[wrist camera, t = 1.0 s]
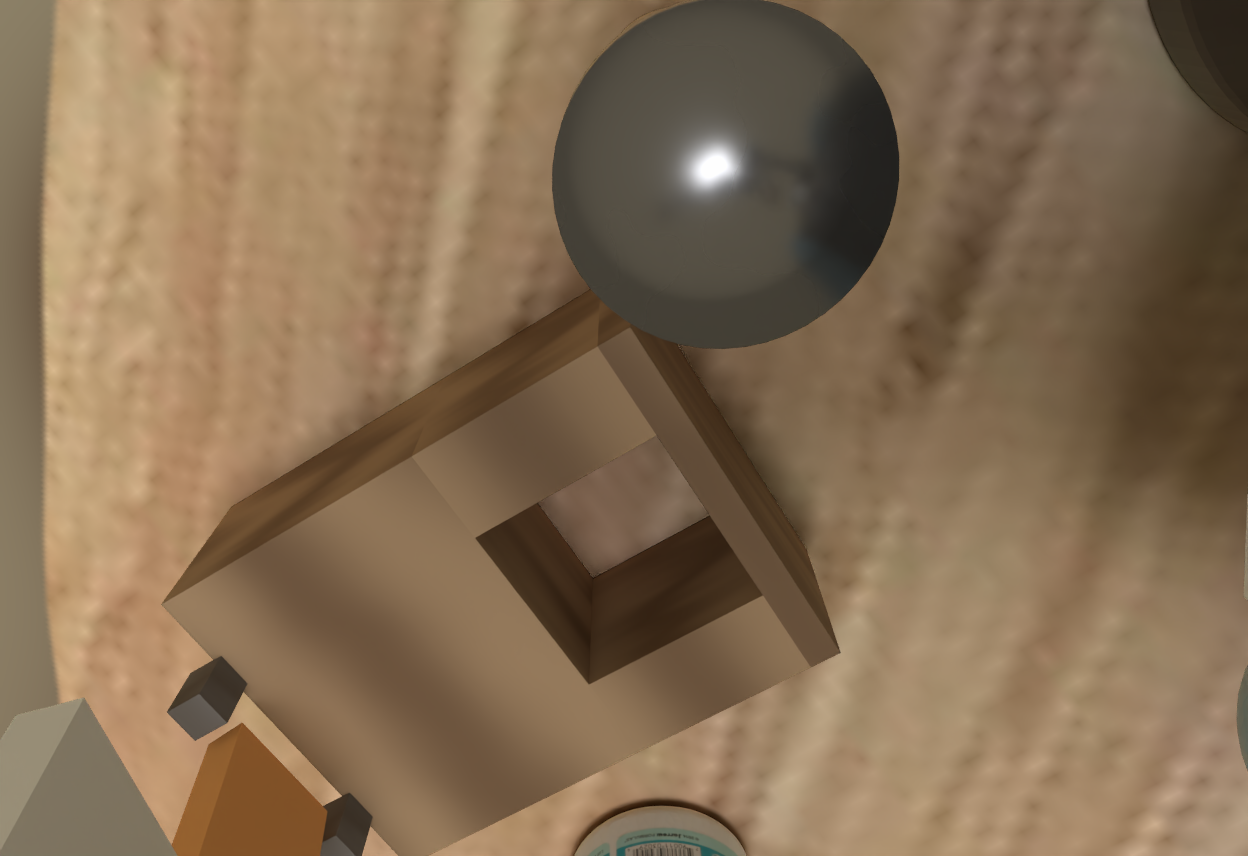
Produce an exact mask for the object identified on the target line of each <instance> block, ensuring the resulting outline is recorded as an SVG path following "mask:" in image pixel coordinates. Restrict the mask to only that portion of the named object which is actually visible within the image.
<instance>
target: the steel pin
mask: <svg viewBox="0 0 1248 856" xmlns="http://www.w3.org/2000/svg"><path fill="white" fill-rule="evenodd" d="M898 182H899V151H898V143H897V135H896V130H895V126H894V122H893V119H892V115H891V111H890V109H889V106H888V104H887V101H886V99H885V96H884V94H883V92H882V89H881V88H880V86H879V84H878V82H877V81H876V79H875V77H874V76H873V74H872V72H871V70H870V69H869V68H868V66H867V65H866V64H865V63H864V61H863V60H862V59H861V58H860V56H859V55H858V54H857V53H856V51H855V50H854V49H853V48H852V47H851V46H849V45H848V44H847V43H846V42H845V41H844V40H843V39H842V38H841V37H840V36H839V35H838V34H836V33H835V32H833V31H832V30H831V29H829V28H828V27H826V26H825V25H824V24H822V23H821V22H819V21H817V20H815V19H814V18H812V17H810V16H808V15H806V14H804V13H802V12H800V11H798V10H795V9H792V8H789V7H786V6H783V5H780V4H777V3H773V2H768V1H763V0H689V1H685V2H681V3H677V4H674V5H672V6H669V7H667V8H662V9H658V10H654V11H651V12H649V13H646V14H644V15H642V16H641V17H639V18H637V19H636V20H634V21H633V22H632V23H630V24H629V25H628V26H627V27H626V28H625V29H624V30H623V31H622V32H621V34H620V35H619V36H617V37H616V38H615V39H614V40H613V41H612V42H611V43H610V44H609V45H608V46H607V47H606V48H605V49H604V50H603V51H602V52H601V53H600V54H599V55H598V56H597V58H596V59H595V60H594V62H593V63H592V64H591V65H590V67H589V68H588V69H587V71H586V72H585V74H584V75H583V77H582V79H581V80H580V82H579V84H578V86H577V87H576V89H575V91H574V93H573V95H572V97H571V100H570V102H569V105H568V107H567V109H566V112H565V114H564V117H563V120H562V123H561V127H560V130H559V134H558V138H557V141H556V146H555V153H554V160H553V170H552V192H553V200H554V208H555V214H556V218H557V222H558V226H559V230H560V234H561V237H562V239H563V242H564V244H565V247H566V249H567V252H568V254H569V256H570V258H571V260H572V261H573V263H574V265H575V267H576V269H577V270H578V272H579V274H580V275H581V277H582V278H583V279H584V281H585V282H586V283H587V285H588V286H589V287H590V289H591V290H592V291H593V292H594V293H595V294H596V295H597V296H598V297H599V298H600V299H601V300H602V302H603V303H604V304H605V305H606V306H607V307H609V308H610V309H611V310H612V311H614V312H615V313H616V314H617V315H619V316H620V317H621V318H623V319H624V320H625V321H627V322H629V323H630V324H632V325H634V326H635V327H637V328H639V329H640V330H642V331H644V332H647V333H649V334H651V335H654V336H656V337H658V338H661V339H663V340H667V341H670V342H674V343H677V344H681V345H686V346H692V347H699V348H714V349H727V348H738V347H747V346H751V345H756V344H761V343H765V342H768V341H771V340H774V339H777V338H780V337H783V336H786V335H788V334H790V333H792V332H794V331H796V330H798V329H800V328H802V327H804V326H806V325H808V324H809V323H811V322H812V321H814V320H815V319H817V318H818V317H820V316H822V315H823V314H825V313H826V312H827V311H828V310H829V309H831V308H832V307H833V306H834V305H835V304H837V303H838V302H839V301H840V300H841V299H842V298H843V297H844V296H845V295H846V294H847V293H848V292H849V291H850V290H851V289H852V288H853V287H854V285H855V284H856V283H857V282H858V281H859V279H860V278H861V277H862V275H863V274H864V273H865V271H866V270H867V268H868V267H869V266H870V264H871V262H872V261H873V259H874V257H875V255H876V253H877V252H878V250H879V248H880V246H881V244H882V242H883V239H884V237H885V235H886V232H887V230H888V227H889V225H890V221H891V218H892V214H893V210H894V207H895V203H896V197H897V190H898Z"/></svg>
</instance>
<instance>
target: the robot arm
mask: <svg viewBox="0 0 1248 856" xmlns="http://www.w3.org/2000/svg"><path fill="white" fill-rule="evenodd" d="M1149 3H1150V7H1151V11H1152V14H1153V17H1154V20H1155V23H1156V26H1157V29H1158V31H1159V33H1160V35H1161V38H1162V40H1163V42H1164V45H1165V47H1166V49H1167V51H1168V52H1169V54H1170V56H1171V58H1172V60H1173V62H1174V63H1175V65H1176V66H1177V68H1178V69H1179V71H1180V72H1181V74H1182V75H1183V77H1184V78H1185V80H1186V81H1187V82H1188V83H1189V85H1190V86H1191V87H1192V88H1193V89H1194V91H1195V92H1196V93H1197V94H1198V95H1199V96H1200V97H1201V98H1202V99H1203V100H1204V101H1205V102H1206V103H1207V104H1208V105H1209V106H1210V107H1211V108H1212V109H1214V110H1215V111H1216V112H1217V113H1218V114H1219V115H1221V116H1222V117H1223V118H1225V119H1226V120H1228V121H1229V122H1230V123H1232V124H1233V125H1235V126H1236V127H1238V128H1240V129H1242V130H1243V131H1245V132H1247V133H1248V0H1149ZM1244 597H1245V598H1246V599H1247V600H1248V496H1247V521H1246V546H1245V571H1244ZM1237 729H1238V737H1239V743H1240V748H1241V753H1242V756H1243V759H1244V762H1245V765H1246V768H1247V771H1248V666H1247V668H1246V670H1245V672H1244V676H1243V679H1242V682H1241V686H1240V690H1239V693H1238V703H1237ZM0 856H177V854H176V852H175V850H174V849H173V847H172V845H171V844H170V842H169V840H168V839H167V837H166V835H165V834H164V832H163V830H162V828H161V827H160V825H159V823H158V822H157V820H156V818H155V817H154V815H153V813H152V812H151V810H150V808H149V807H148V805H147V803H146V801H145V800H144V798H143V796H142V795H141V793H140V791H139V790H138V788H137V786H136V785H135V783H134V781H133V779H132V778H131V776H130V774H129V773H128V771H127V769H126V768H125V766H124V764H123V763H122V761H121V759H120V757H119V756H118V754H117V752H116V751H115V749H114V747H113V746H112V744H111V742H110V741H109V739H108V737H107V736H106V734H105V732H104V730H103V729H102V727H101V725H100V724H99V722H98V720H97V719H96V717H95V715H94V714H93V712H92V710H91V708H90V707H89V705H88V703H87V702H86V700H85V698H81V699H77V700H73V701H69V702H65V703H61V704H58V705H54V706H50V707H46V708H42V709H39V710H35V711H31V712H27V713H23V714H19V715H16V716H15V717H14V719H13V721H12V722H11V724H10V725H9V727H8V729H7V730H6V732H5V733H4V735H3V737H2V738H1V740H0Z"/></svg>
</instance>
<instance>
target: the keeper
mask: <svg viewBox="0 0 1248 856" xmlns="http://www.w3.org/2000/svg"><path fill="white" fill-rule="evenodd" d="M326 817H327V810H326V809H325V808H324V807H323V806H322V805H321V804H320V803H319V802H318V801H317V800H316V799H315V798H314V797H313V796H312V795H311V794H310V793H309V792H308V790H307V789H306V788H305V787H304V786H303V785H302V784H301V783H300V782H299V781H298V780H297V779H296V778H295V777H294V776H293V775H292V774H291V773H290V772H289V771H288V770H287V769H286V768H285V767H284V765H283V764H282V763H281V762H280V761H279V760H278V759H277V758H276V757H275V756H274V755H273V754H272V753H271V752H270V751H269V750H268V749H267V748H266V747H265V746H264V745H263V744H262V743H261V742H260V740H259V739H258V738H257V737H256V736H255V735H254V734H253V733H252V732H251V731H250V730H249V729H248V728H247V727H246V726H245V725H244V724H243V723H241V724H239V725H238V726H236V727H235V728H233V729H232V730H230V731H229V732H227V733H226V734H224V735H222V736H221V737H219V738H218V739H216V740H215V741H213V742H212V743H210V744H209V745H208V748H207V751H206V753H205V756H204V759H203V762H202V764H201V767H200V770H199V772H198V775H197V778H196V781H195V783H194V786H193V789H192V791H191V794H190V797H189V800H188V802H187V805H186V808H185V811H184V813H183V816H182V819H181V821H180V824H179V827H178V830H177V832H176V835H175V838H174V840H173V843H172V847H173V849H174V850H175V852H176V854H177V856H320V852H321V846H322V841H323V835H324V829H325V823H326Z"/></svg>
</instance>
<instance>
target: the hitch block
mask: <svg viewBox="0 0 1248 856" xmlns="http://www.w3.org/2000/svg"><path fill="white" fill-rule="evenodd" d="M655 436H657V437H658V438H659V440H660V441H661V443H662V444H663V446H664V447H665V449H666V450H667V452H668V453H669V455H670V456H671V458H672V459H673V461H674V462H675V464H676V465H677V467H678V468H679V470H680V471H681V473H682V474H683V476H684V477H685V479H686V480H687V482H688V483H689V485H690V486H691V488H692V489H693V491H694V492H695V494H696V495H697V497H698V498H699V500H700V501H701V503H702V504H703V506H704V507H705V509H706V510H707V512H708V514H709V515H710V516H709V517H707V518H705V519H703V520H701V521H700V522H698V523H696V524H694V525H692V526H690V527H688V528H687V529H685V530H683V531H681V532H679V533H677V534H675V535H674V536H672V537H670V538H668V539H666V540H664V541H662V542H661V543H659V544H657V545H655V546H653V547H651V548H649V549H648V550H646V551H644V552H642V553H640V554H638V555H636V556H635V557H633V558H631V559H629V560H627V561H625V562H623V563H622V564H620V565H618V566H616V567H614V568H612V569H610V570H609V571H607V572H605V573H603V574H601V575H599V576H597V577H595V578H594V579H593V578H592V577H591V576H590V574H589V573H588V572H587V570H586V569H585V567H584V566H583V565H582V563H581V562H580V561H579V559H578V558H577V557H576V555H575V554H574V553H573V551H572V550H571V548H570V547H569V546H568V544H567V543H566V542H565V540H564V539H563V538H562V536H561V535H560V534H559V532H558V531H557V529H556V528H555V527H554V525H553V524H552V523H551V521H550V520H549V519H548V517H547V516H546V515H545V513H544V512H543V510H542V509H541V508H540V506H539V505H538V504H537V503H538V502H540V501H541V500H543V499H545V498H547V497H548V496H550V495H552V494H554V493H555V492H557V491H559V490H561V489H563V488H564V487H566V486H568V485H570V484H571V483H573V482H575V481H577V480H579V479H580V478H582V477H584V476H586V475H587V474H589V473H591V472H593V471H595V470H596V469H598V468H600V467H602V466H603V465H605V464H607V463H609V462H611V461H612V460H614V459H616V458H618V457H619V456H621V455H623V454H625V453H627V452H628V451H630V450H632V449H634V448H635V447H637V446H639V445H641V444H643V443H644V442H646V441H648V440H650V439H651V438H653V437H655ZM161 605H162V606H163V607H164V608H165V609H166V610H167V611H168V612H169V613H170V614H171V615H172V617H173V618H174V619H175V620H176V621H177V622H178V623H179V624H180V625H181V626H182V627H183V628H184V629H185V630H186V631H187V632H188V633H189V635H190V636H191V637H192V638H193V639H194V640H195V641H196V642H197V643H198V644H199V645H200V646H201V647H202V648H203V649H204V650H205V651H206V653H207V654H208V655H209V656H210V657H211V658H212V659H213V661H211V662H209V663H208V664H206V665H204V666H202V667H201V668H199V669H197V670H195V671H194V672H192V673H190V675H189V677H188V678H187V680H186V682H185V683H184V685H183V686H182V688H181V690H180V691H179V693H178V695H177V696H176V698H175V700H174V701H173V703H172V705H171V706H170V708H169V710H168V711H167V713H168V714H169V715H170V716H171V717H172V718H173V719H174V720H175V721H176V722H177V723H178V724H179V725H180V726H181V727H182V728H183V729H184V730H185V731H186V732H187V733H188V734H189V735H190V736H191V737H192V738H193V739H194V740H197V739H199V738H201V737H203V736H205V735H206V734H208V733H210V732H212V731H214V730H215V729H217V728H219V727H221V726H223V725H224V724H226V723H227V722H228V720H229V719H230V717H231V715H232V713H233V711H234V709H235V707H236V705H237V703H238V701H239V699H240V697H241V695H242V693H243V692H244V693H245V694H246V695H247V696H248V697H249V698H250V699H251V700H252V701H253V702H254V703H255V704H256V705H257V706H258V708H259V709H260V710H261V711H262V712H263V713H264V714H265V715H266V716H267V717H268V718H269V719H270V720H271V721H272V722H273V723H274V724H275V726H276V727H277V728H278V729H279V730H280V731H281V732H282V733H283V734H284V735H285V736H286V737H287V738H288V739H289V740H290V741H291V742H292V744H293V745H294V746H295V747H296V748H297V749H298V750H299V751H300V752H301V753H302V754H303V755H304V756H305V757H306V758H307V759H308V760H309V762H310V763H311V764H312V765H313V766H314V767H315V768H316V769H317V770H318V771H319V772H320V773H321V774H322V775H323V776H324V777H325V778H326V780H327V781H328V782H329V783H330V784H331V785H332V786H333V787H334V788H335V789H336V790H337V791H338V792H339V793H340V794H341V795H342V797H340V798H338V799H336V800H334V801H332V802H330V803H328V804H326V805H325V806H323V807H324V808H325V809H326V810H327V817H326V823H325V829H324V835H323V841H322V846H321V852H320V856H362V853H363V849H364V846H365V842H366V839H367V835H368V832H369V828H370V826H371V827H372V828H373V829H374V830H375V831H376V832H377V833H378V835H379V836H380V837H381V838H382V839H383V840H384V841H385V842H386V843H387V844H388V845H389V846H390V847H391V848H392V849H393V850H394V851H395V853H396V854H397V855H398V856H429V855H431V854H433V853H435V852H437V851H439V850H441V849H443V848H445V847H447V846H449V845H451V844H453V843H455V842H457V841H459V840H461V839H463V838H465V837H467V836H469V835H471V834H473V833H475V832H477V831H479V830H482V829H484V828H486V827H488V826H490V825H492V824H494V823H496V822H498V821H500V820H502V819H504V818H506V817H508V816H510V815H512V814H514V813H516V812H518V811H520V810H522V809H524V808H526V807H528V806H530V805H532V804H534V803H536V802H538V801H540V800H542V799H544V798H547V797H549V796H551V795H553V794H555V793H557V792H559V791H561V790H563V789H565V788H567V787H569V786H571V785H573V784H575V783H577V782H579V781H581V780H583V779H585V778H587V777H589V776H591V775H593V774H595V773H597V772H599V771H601V770H603V769H605V768H607V767H609V766H612V765H614V764H616V763H618V762H620V761H622V760H624V759H626V758H628V757H630V756H632V755H634V754H636V753H638V752H640V751H642V750H644V749H646V748H648V747H650V746H652V745H654V744H656V743H658V742H660V741H662V740H664V739H666V738H668V737H670V736H672V735H675V734H677V733H679V732H681V731H683V730H685V729H687V728H689V727H691V726H693V725H695V724H697V723H699V722H701V721H703V720H705V719H707V718H709V717H711V716H713V715H715V714H717V713H719V712H721V711H723V710H725V709H727V708H729V707H731V706H733V705H735V704H737V703H740V702H742V701H744V700H746V699H748V698H750V697H752V696H754V695H756V694H758V693H760V692H762V691H764V690H766V689H768V688H770V687H772V686H774V685H776V684H778V683H780V682H782V681H784V680H786V679H788V678H790V677H792V676H794V675H796V674H798V673H800V672H803V671H805V670H807V669H809V668H811V667H813V666H815V665H817V664H819V663H821V662H823V661H825V660H827V659H829V658H831V657H833V656H835V655H837V654H839V653H840V650H839V647H838V644H837V641H836V638H835V635H834V631H833V628H832V625H831V622H830V619H829V616H828V613H827V610H826V607H825V604H824V601H823V598H822V595H821V592H820V589H819V586H818V583H817V580H816V577H815V574H814V571H813V568H812V565H811V562H810V559H809V556H808V553H807V550H806V548H805V547H804V545H803V544H802V542H801V540H800V539H799V537H798V536H797V534H796V533H795V531H794V529H793V528H792V526H791V525H790V523H789V521H788V520H787V518H786V517H785V515H784V514H783V512H782V510H781V509H780V507H779V506H778V504H777V502H776V501H775V499H774V498H773V496H772V495H771V493H770V491H769V490H768V488H767V487H766V485H765V483H764V482H763V480H762V479H761V477H760V476H759V474H758V472H757V471H756V469H755V468H754V466H753V465H752V463H751V461H750V460H749V458H748V457H747V455H746V453H745V452H744V450H743V449H742V447H741V446H740V444H739V442H738V441H737V439H736V438H735V436H734V434H733V433H732V431H731V430H730V428H729V427H728V425H727V423H726V422H725V420H724V419H723V417H722V415H721V414H720V412H719V411H718V409H717V408H716V406H715V404H714V403H713V401H712V400H711V398H710V396H709V395H708V393H707V392H706V390H705V389H704V387H703V385H702V384H701V382H700V381H699V379H698V377H697V376H696V374H695V373H694V371H693V370H692V368H691V366H690V365H689V363H688V362H687V360H686V358H685V357H684V355H683V354H682V352H681V351H680V349H679V347H678V346H677V344H676V343H674V342H670V341H667V340H663V339H661V338H658V337H656V336H654V335H651V334H649V333H647V332H644V331H642V330H640V329H639V328H637V327H635V326H634V325H632V324H630V323H629V322H627V321H625V320H624V319H623V318H621V317H620V316H619V315H617V314H616V313H615V312H614V311H612V310H611V309H610V308H609V307H607V306H606V305H605V304H604V303H603V302H602V300H601V299H600V298H599V297H598V296H597V295H596V294H595V293H594V292H593V291H592V290H591V289H590V290H589V291H587V292H585V293H584V294H582V295H581V296H579V297H577V298H576V299H574V300H572V301H571V302H569V303H567V304H566V305H564V306H562V307H561V308H559V309H557V310H556V311H554V312H552V313H551V314H549V315H548V316H546V317H544V318H543V319H541V320H539V321H538V322H536V323H534V324H533V325H531V326H529V327H528V328H526V329H524V330H523V331H521V332H519V333H518V334H516V335H515V336H513V337H511V338H510V339H508V340H506V341H505V342H503V343H501V344H500V345H498V346H496V347H495V348H493V349H491V350H490V351H488V352H487V353H485V354H483V355H482V356H480V357H478V358H477V359H475V360H473V361H472V362H470V363H468V364H467V365H465V366H463V367H462V368H460V369H458V370H457V371H455V372H454V373H452V374H450V375H449V376H447V377H445V378H444V379H442V380H440V381H439V382H437V383H435V384H434V385H432V386H430V387H429V388H427V389H425V390H424V391H422V392H421V393H419V394H417V395H416V396H414V397H412V398H411V399H409V400H407V401H406V402H404V403H402V404H401V405H399V406H397V407H396V408H394V409H392V410H391V411H389V412H388V413H386V414H384V415H383V416H381V417H379V418H378V419H376V420H374V421H373V422H371V423H369V424H368V425H366V426H364V427H363V428H361V429H359V430H358V431H356V432H355V433H353V434H351V435H350V436H348V437H346V438H345V439H343V440H341V441H340V442H338V443H336V444H335V445H333V446H331V447H330V448H328V449H326V450H325V451H323V452H322V453H320V454H318V455H317V456H315V457H313V458H312V459H310V460H308V461H307V462H305V463H303V464H302V465H300V466H298V467H297V468H295V469H293V470H292V471H290V472H289V473H287V474H285V475H284V476H282V477H280V478H279V479H277V480H275V481H274V482H272V483H270V484H269V485H267V486H265V487H264V488H262V489H260V490H259V491H257V492H256V493H254V494H252V495H251V496H249V497H247V498H246V499H244V500H242V501H241V502H239V503H237V504H236V505H234V506H232V507H231V508H230V510H229V511H228V512H227V514H226V515H225V516H224V518H223V519H222V521H221V522H220V523H219V525H218V526H217V528H216V529H215V530H214V532H213V533H212V535H211V536H210V537H209V539H208V540H207V542H206V543H205V544H204V546H203V547H202V549H201V550H200V551H199V553H198V554H197V555H196V557H195V558H194V560H193V561H192V562H191V564H190V565H189V567H188V568H187V569H186V571H185V572H184V574H183V575H182V576H181V578H180V579H179V581H178V582H177V583H176V585H175V586H174V588H173V589H172V590H171V592H170V593H169V594H168V596H167V597H166V599H165V600H164V601H163V603H162V604H161Z"/></svg>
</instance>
